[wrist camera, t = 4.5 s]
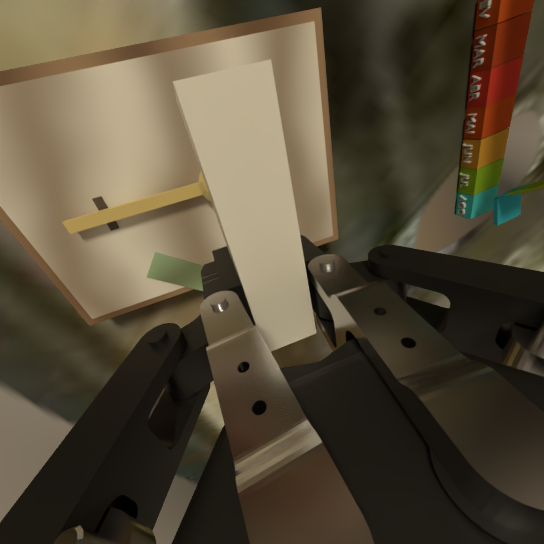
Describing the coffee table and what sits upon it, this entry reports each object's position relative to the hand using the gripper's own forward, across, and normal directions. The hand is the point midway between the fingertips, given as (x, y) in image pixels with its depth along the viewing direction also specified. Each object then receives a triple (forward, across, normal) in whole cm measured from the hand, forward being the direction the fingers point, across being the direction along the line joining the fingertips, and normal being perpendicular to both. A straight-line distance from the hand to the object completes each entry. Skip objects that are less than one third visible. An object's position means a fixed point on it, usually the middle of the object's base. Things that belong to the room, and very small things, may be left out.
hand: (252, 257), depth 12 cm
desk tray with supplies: (+9, +2, -2) cm, 10 cm away
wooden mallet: (+6, +4, -2) cm, 8 cm away
